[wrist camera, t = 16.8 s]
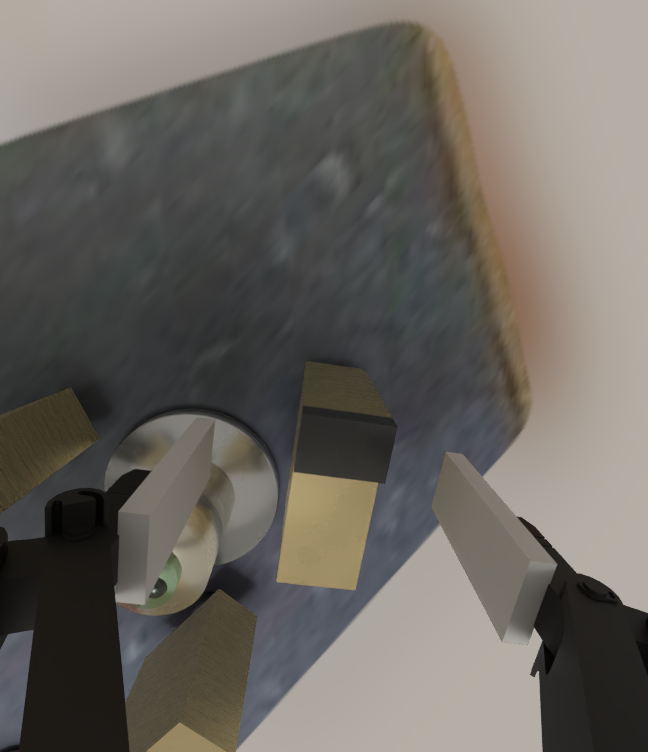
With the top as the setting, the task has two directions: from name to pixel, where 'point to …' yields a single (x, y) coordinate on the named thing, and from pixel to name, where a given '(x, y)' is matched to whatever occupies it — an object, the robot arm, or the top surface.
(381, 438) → the brass angular block
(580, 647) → the robot arm
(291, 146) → the top surface
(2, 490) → the gold angular block
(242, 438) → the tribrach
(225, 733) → the brass wedge block
